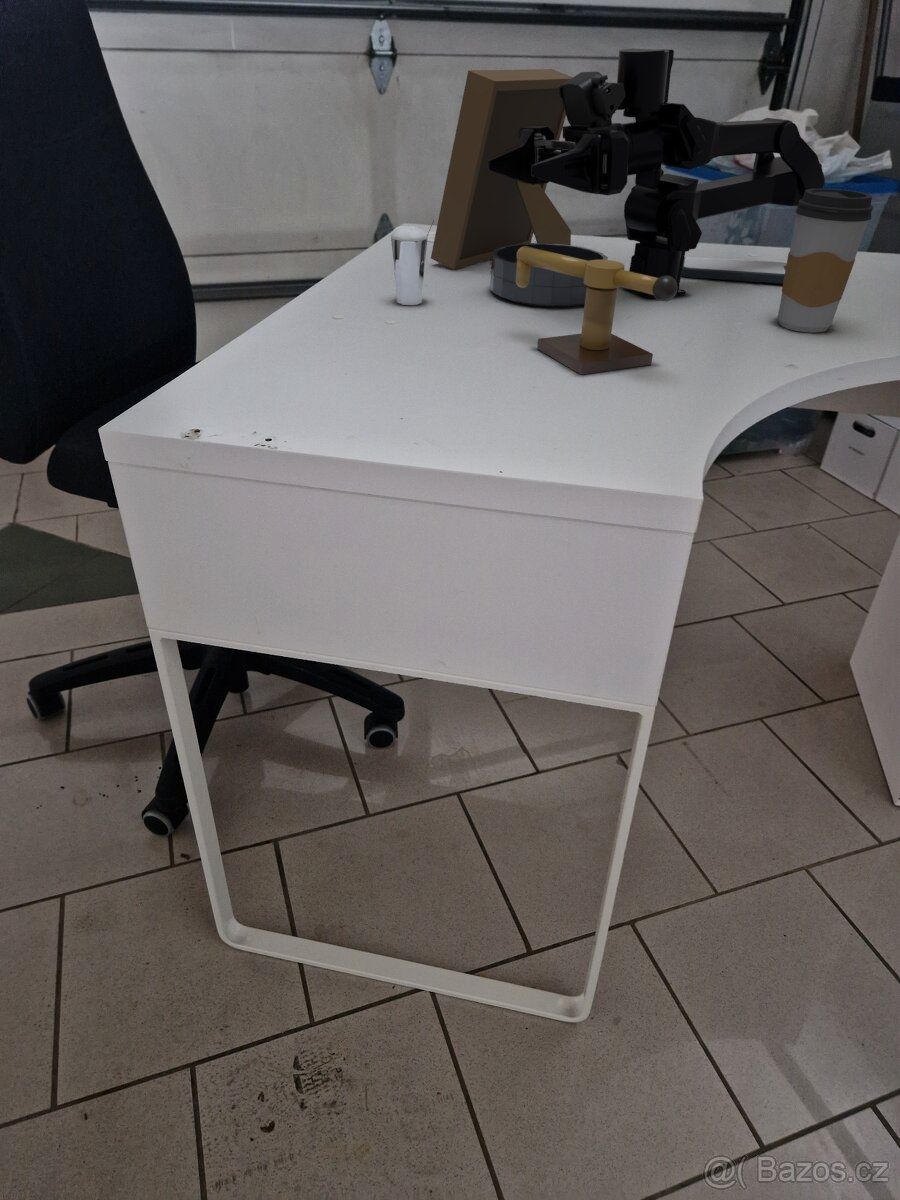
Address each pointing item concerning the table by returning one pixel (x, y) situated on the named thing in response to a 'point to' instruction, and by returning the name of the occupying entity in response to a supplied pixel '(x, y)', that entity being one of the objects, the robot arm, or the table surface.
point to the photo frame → (487, 199)
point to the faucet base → (594, 357)
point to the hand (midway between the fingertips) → (509, 168)
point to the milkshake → (409, 263)
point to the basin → (540, 277)
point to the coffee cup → (822, 256)
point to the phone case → (734, 269)
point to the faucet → (593, 273)
